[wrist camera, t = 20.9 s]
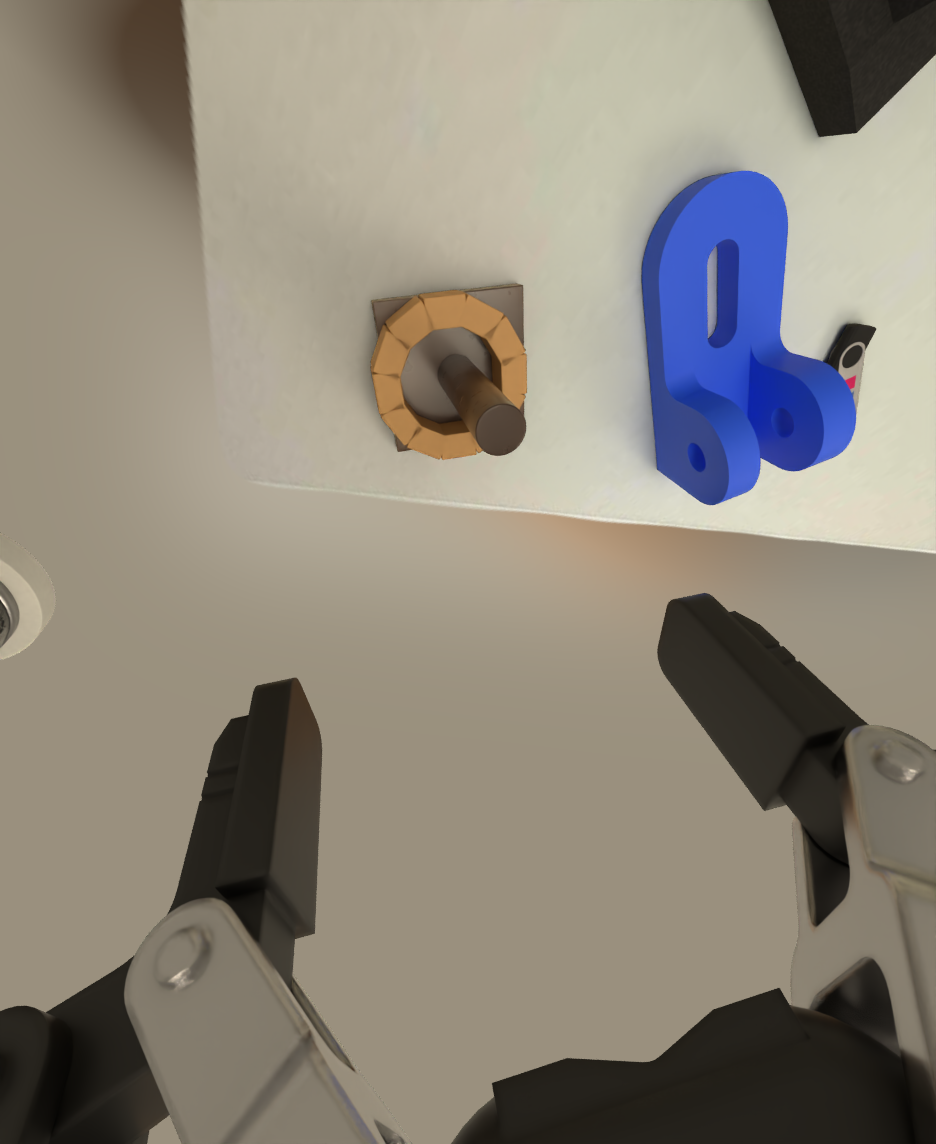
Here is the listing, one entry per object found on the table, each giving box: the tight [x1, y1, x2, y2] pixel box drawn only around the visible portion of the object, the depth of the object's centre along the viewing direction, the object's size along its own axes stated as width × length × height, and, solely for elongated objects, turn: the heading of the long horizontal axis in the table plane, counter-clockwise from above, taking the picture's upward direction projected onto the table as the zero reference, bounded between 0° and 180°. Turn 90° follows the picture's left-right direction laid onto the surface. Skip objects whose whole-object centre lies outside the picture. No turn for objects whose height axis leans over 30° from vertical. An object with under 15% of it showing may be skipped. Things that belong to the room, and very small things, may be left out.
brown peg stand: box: [371, 284, 526, 456], centre depth 26 cm, size 9×9×12 cm
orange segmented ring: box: [371, 290, 527, 460], centre depth 29 cm, size 9×9×2 cm
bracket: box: [642, 171, 856, 505], centre depth 30 cm, size 18×8×9 cm, turn 19°
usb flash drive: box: [827, 324, 876, 413], centre depth 37 cm, size 9×5×1 cm, turn 173°
